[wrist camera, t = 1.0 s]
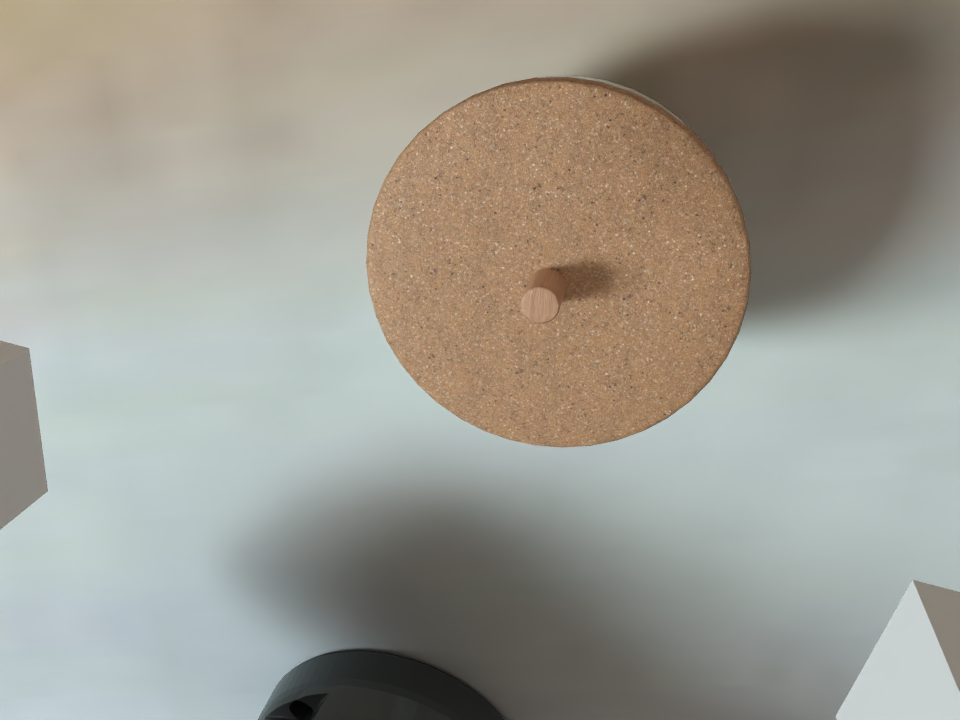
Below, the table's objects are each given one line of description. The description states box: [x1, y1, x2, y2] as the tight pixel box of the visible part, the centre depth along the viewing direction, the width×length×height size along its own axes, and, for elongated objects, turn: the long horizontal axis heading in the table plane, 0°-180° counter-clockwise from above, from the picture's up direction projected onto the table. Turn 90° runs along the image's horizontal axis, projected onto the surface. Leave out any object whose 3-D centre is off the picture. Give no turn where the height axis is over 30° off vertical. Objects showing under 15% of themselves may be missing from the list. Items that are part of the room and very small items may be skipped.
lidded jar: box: [366, 76, 751, 447], centre depth 24 cm, size 11×11×9 cm
